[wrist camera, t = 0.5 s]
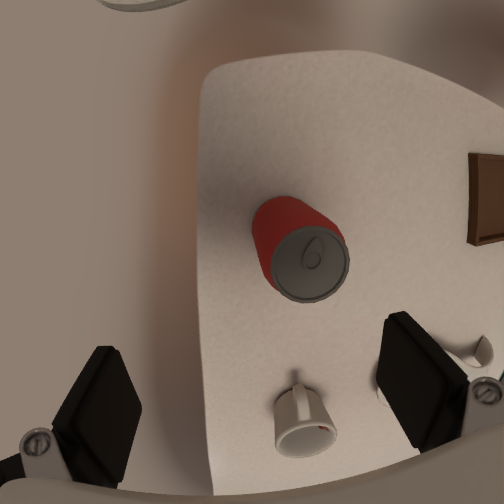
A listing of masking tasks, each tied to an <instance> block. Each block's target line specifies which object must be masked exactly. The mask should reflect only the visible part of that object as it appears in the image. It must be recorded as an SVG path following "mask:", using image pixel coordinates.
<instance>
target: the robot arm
mask: <svg viewBox="0 0 504 504" xmlns="http://www.w3.org/2000/svg"><path fill="white" fill-rule="evenodd" d="M467 378H468V375H467V374H466V373H465V372H464V371H463V370H462V369H461V368H460V367H459V365H458V364H457V363H456V362H455V361H454V360H453V359H452V358H451V357H450V356H449V355H448V354H447V353H446V352H445V351H444V350H443V349H442V348H441V346H440V345H439V344H438V343H437V342H436V341H435V340H434V339H433V338H432V337H431V336H430V335H429V334H428V333H427V332H426V331H425V330H424V329H423V328H422V327H421V326H420V325H419V324H418V323H417V322H416V321H415V320H414V319H413V318H412V317H411V316H410V315H409V314H408V313H407V312H405V311H401V312H397V313H392V314H390V315H389V316H388V319H385V321H384V327H383V335H382V342H381V349H380V356H379V362H378V368H377V374H376V381H377V384H378V386H379V388H380V390H381V392H382V393H383V395H384V397H385V398H386V400H387V402H388V404H389V405H390V407H391V409H392V411H393V412H394V414H395V416H396V418H397V419H398V421H399V423H400V425H401V427H402V428H403V430H404V432H405V434H406V436H407V437H408V439H409V441H410V443H411V445H412V446H413V447H414V448H418V450H419V451H420V453H421V454H420V455H417V456H414V457H412V458H409V459H406V460H403V461H401V462H398V463H395V464H392V465H389V466H386V467H383V468H380V469H377V470H374V471H370V472H367V473H364V474H360V475H356V476H353V477H349V478H345V479H341V480H337V481H332V482H328V483H323V484H318V485H313V486H308V487H302V488H296V489H289V490H282V491H275V492H266V493H256V494H243V495H222V496H185V495H166V494H152V493H143V492H135V491H126V490H120V489H117V486H118V482H119V483H120V482H122V480H123V477H124V473H125V469H126V466H127V462H128V458H129V454H130V451H131V447H132V444H133V440H134V436H135V433H136V430H137V426H138V423H139V419H140V416H141V412H142V405H141V402H140V400H139V398H138V396H137V393H136V391H135V389H134V386H133V384H132V382H131V379H130V377H129V374H128V372H127V370H126V367H125V364H124V362H123V360H122V357H121V354H120V352H119V351H118V350H115V348H114V347H113V346H97V347H96V349H95V350H94V352H93V354H92V355H91V357H90V358H89V360H88V362H87V363H86V365H85V367H84V368H83V370H82V371H81V373H80V375H79V376H78V378H77V380H76V382H75V383H74V385H73V386H72V388H71V390H70V392H69V393H68V395H67V397H66V399H65V400H64V402H63V404H62V406H61V407H60V409H59V411H58V413H57V415H56V417H55V418H54V420H53V422H52V425H53V429H52V430H51V431H50V430H49V429H46V428H35V429H32V430H30V431H29V432H27V433H26V434H25V435H24V436H23V438H22V439H21V441H20V445H19V448H20V449H19V450H20V453H18V454H16V455H14V456H11V457H9V458H7V459H4V460H2V461H0V504H504V385H503V384H502V383H501V382H500V381H498V380H496V379H494V378H491V377H479V378H476V379H475V380H473V381H472V382H470V381H469V380H468V379H467Z"/></svg>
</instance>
